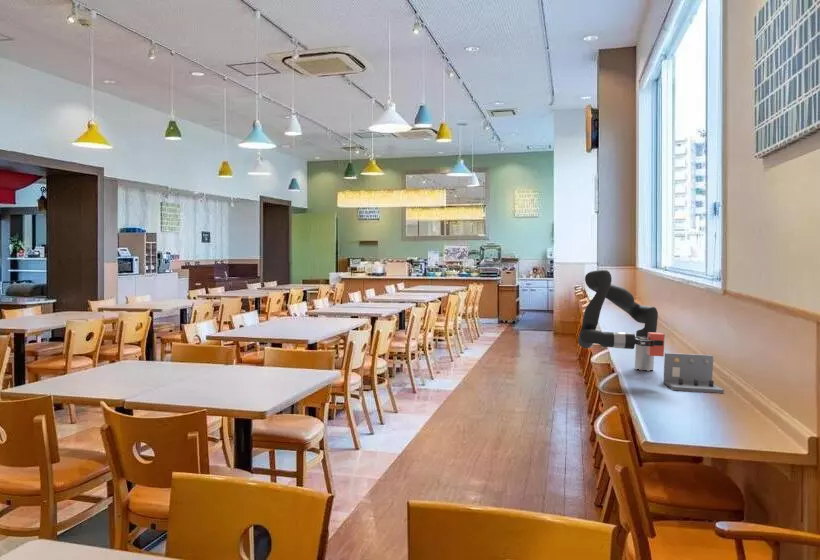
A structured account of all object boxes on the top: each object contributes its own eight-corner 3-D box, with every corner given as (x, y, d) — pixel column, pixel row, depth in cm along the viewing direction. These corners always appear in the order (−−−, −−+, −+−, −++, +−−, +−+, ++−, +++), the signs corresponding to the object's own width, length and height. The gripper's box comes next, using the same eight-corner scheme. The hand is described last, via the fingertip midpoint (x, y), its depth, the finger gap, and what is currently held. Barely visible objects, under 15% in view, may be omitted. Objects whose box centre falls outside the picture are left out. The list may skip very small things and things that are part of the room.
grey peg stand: (663, 382, 294) (664, 352, 294) (710, 385, 291) (712, 355, 291) (672, 390, 277) (674, 358, 277) (723, 393, 274) (725, 361, 274)
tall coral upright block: (646, 353, 291) (647, 332, 290) (660, 354, 290) (661, 332, 290) (649, 355, 285) (650, 333, 284) (663, 356, 284) (664, 334, 284)
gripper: (626, 334, 282) (665, 336, 280) (620, 330, 296) (658, 332, 294) (625, 350, 282) (664, 352, 280) (620, 346, 297) (657, 348, 294)
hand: (661, 342), depth 287 cm, fingers closed on tall coral upright block, 6 cm apart
